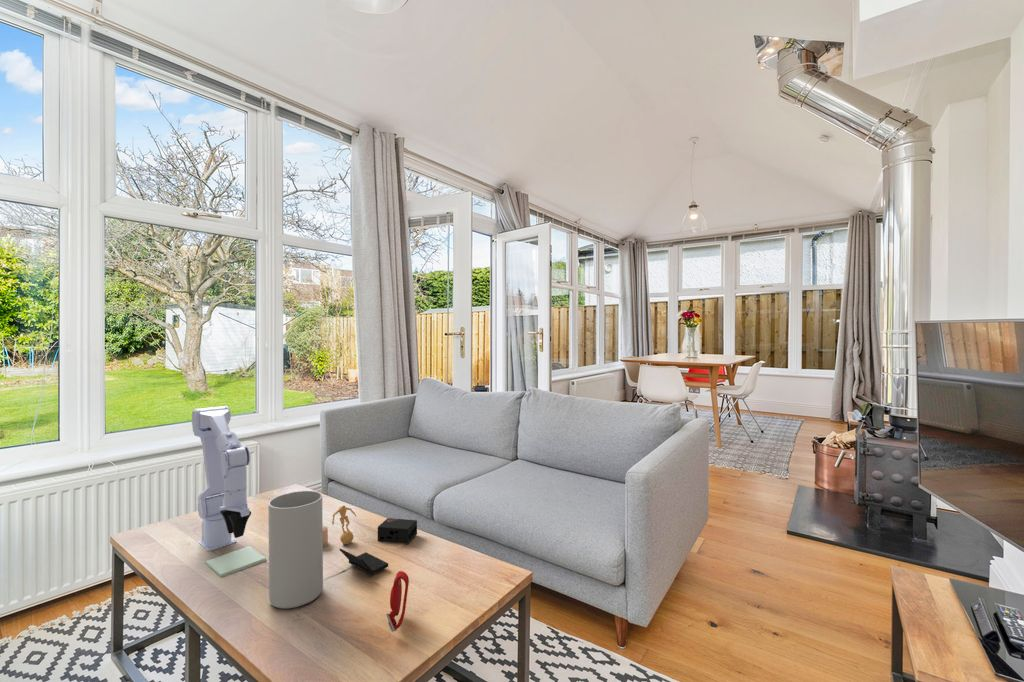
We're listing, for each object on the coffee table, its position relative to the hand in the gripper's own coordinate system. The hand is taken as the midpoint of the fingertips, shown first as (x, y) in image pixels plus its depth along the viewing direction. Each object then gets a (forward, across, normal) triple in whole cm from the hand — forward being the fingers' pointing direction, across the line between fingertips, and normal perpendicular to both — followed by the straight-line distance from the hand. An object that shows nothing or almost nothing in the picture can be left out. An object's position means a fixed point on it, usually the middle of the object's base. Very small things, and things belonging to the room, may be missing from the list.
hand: (235, 534), depth 131 cm
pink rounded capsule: (+8, +9, +21) cm, 24 cm away
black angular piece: (+9, +33, +24) cm, 42 cm away
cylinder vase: (+9, +31, +3) cm, 32 cm away
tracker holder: (+9, +60, +13) cm, 62 cm away
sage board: (+8, 0, 0) cm, 8 cm away
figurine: (+9, +14, +27) cm, 32 cm away
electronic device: (+9, +24, +40) cm, 48 cm away
